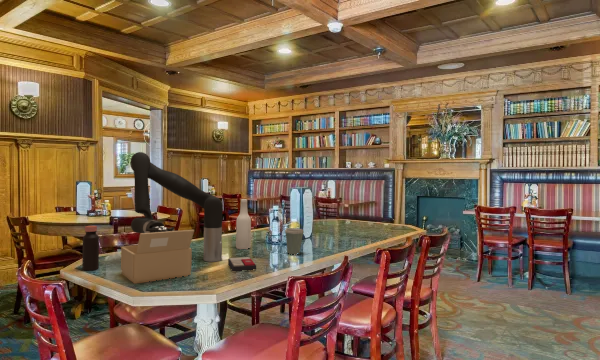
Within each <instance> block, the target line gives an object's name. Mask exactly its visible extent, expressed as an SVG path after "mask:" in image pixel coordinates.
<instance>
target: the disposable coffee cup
mask: <svg viewBox="0 0 600 360" xmlns="http://www.w3.org/2000/svg"><path fill="white" fill-rule="evenodd" d="M284 231H285V232H284V233H285V241H286V251H287V254H288V253H289V254H297V253H299V254H300V253H301V247H302V240H303V236H304V230H303V228H296V227H286V228H285V230H284ZM289 254H288V255H289Z"/></svg>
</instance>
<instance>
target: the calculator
mask: <svg viewBox="0 0 600 360" xmlns="http://www.w3.org/2000/svg"><path fill="white" fill-rule="evenodd" d="M227 265H229V266H230V267H229V266H228V267H229V269H230V270H231V269H232V270H231V271H242V270H253V269H256V270H257V264H256V263H255V262H254V261H253V259H252V258H251V257H250V256H249V257H247V256H246V257H245V256H243V257H229V258H228V260H227Z"/></svg>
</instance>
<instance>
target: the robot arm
mask: <svg viewBox="0 0 600 360" xmlns="http://www.w3.org/2000/svg"><path fill="white" fill-rule="evenodd" d="M130 168H131V170H132V171H133V177H134V192H133V193H134V195H133V196H134V197H133V198H134V202H133V203H134V212H135V213H136V214H137V213H138V214H141V215H143V216H144V217H134V218H133V219H132V220H131V223H130V227H131V230H132V231H133V232H134V233H137V234H141V233H154V232H168V231H175V227H174V226H173V227H166V226H165V224H164V223H163V222H161V221H158V220H156V219H154V217H153V214H152V211H151V204H150V203H151V199H150V190H149V189H150V188H149V179H150V180H152V181H153V182H155V183H156V184H158V185H160V186H161V187H162V188H165V189H166V190H168V191H169V192H171V193H173V194H175V195H177V196H179V197H180V198H183V199H185V200H188V201H191V202H193V203H195V204H197V205H198V206H200V207H201V208H203V257H202V258H203V261H205V262H210V263H211V262H212V263H213V262H219V261H220V262H221V260H222V261H223V252H222V251H223V240H222V239H223V237H222V236H223V202H222V200H221V199H220V198H219V197H218V196H215V195H212V194H209V193H208V192H206V191H203V190H202V189H200V188H199V187H197V185H195V184H194V183H192V182H191V181H189V180H188V179H186V178H184V177H182V176H181V175H179V174H178V173H175V172H172V171H169V170H165V169H162V168H160V167H158V166H157V165H155V164H154V163H152V162H151V159H150V156H149V155H148V154H147V153H146V152H143V151H138V152H135V153H134V154H133V155H132V156H131V158H130Z"/></svg>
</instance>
